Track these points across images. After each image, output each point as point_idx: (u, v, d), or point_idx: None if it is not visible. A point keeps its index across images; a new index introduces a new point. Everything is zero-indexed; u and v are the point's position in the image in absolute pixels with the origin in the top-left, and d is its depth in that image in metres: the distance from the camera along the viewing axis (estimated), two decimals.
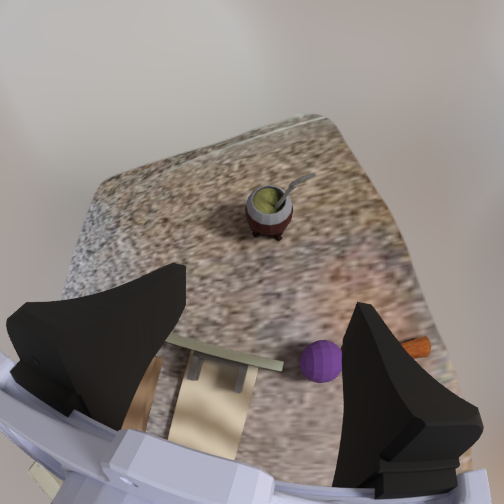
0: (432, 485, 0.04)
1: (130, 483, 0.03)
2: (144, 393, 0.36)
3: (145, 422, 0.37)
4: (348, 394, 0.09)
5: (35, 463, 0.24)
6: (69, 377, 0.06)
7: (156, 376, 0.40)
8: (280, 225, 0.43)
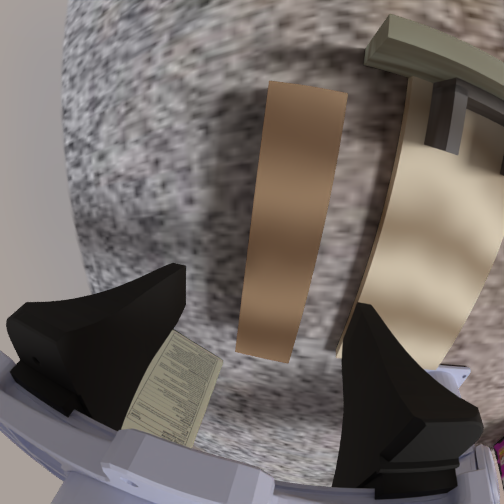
0: (432, 485, 0.04)
1: (130, 483, 0.03)
2: (327, 196, 0.15)
3: None
4: (348, 394, 0.09)
5: None
6: (69, 377, 0.06)
7: None
8: None
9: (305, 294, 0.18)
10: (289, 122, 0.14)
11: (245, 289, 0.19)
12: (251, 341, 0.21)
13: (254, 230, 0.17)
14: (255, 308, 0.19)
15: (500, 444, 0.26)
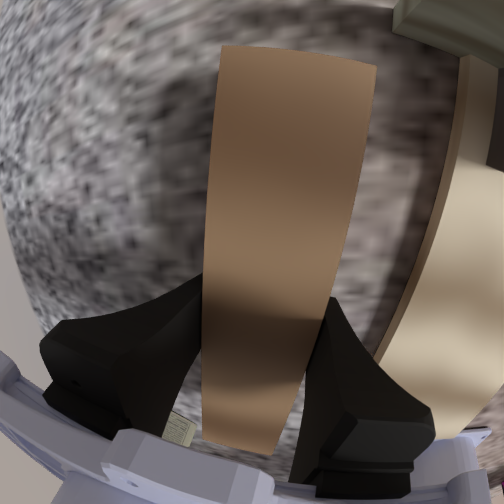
0: (380, 489, 0.05)
1: (130, 483, 0.03)
2: (333, 264, 0.08)
3: None
4: (308, 388, 0.10)
5: None
6: (120, 402, 0.05)
7: None
8: None
9: (293, 395, 0.11)
10: (263, 123, 0.07)
11: (205, 383, 0.12)
12: (221, 433, 0.14)
13: (208, 311, 0.10)
14: (222, 404, 0.12)
15: None
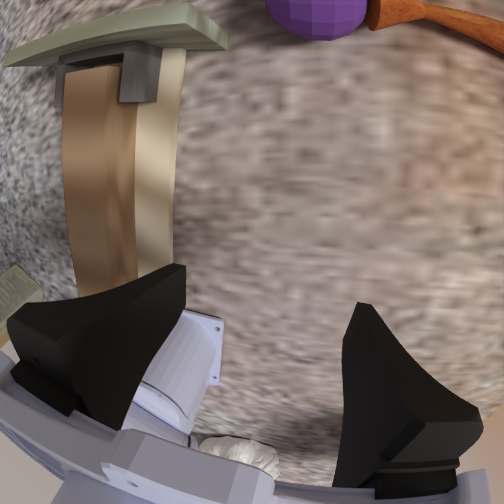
0: (432, 485, 0.04)
1: (130, 483, 0.03)
2: (100, 151, 0.17)
3: (126, 211, 0.21)
4: (348, 394, 0.09)
5: None
6: (69, 377, 0.06)
7: (127, 107, 0.18)
8: None
9: (104, 239, 0.19)
10: (75, 100, 0.15)
11: (70, 236, 0.20)
12: (85, 285, 0.22)
13: (65, 186, 0.18)
14: (79, 254, 0.21)
15: None
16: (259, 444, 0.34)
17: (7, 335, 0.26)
